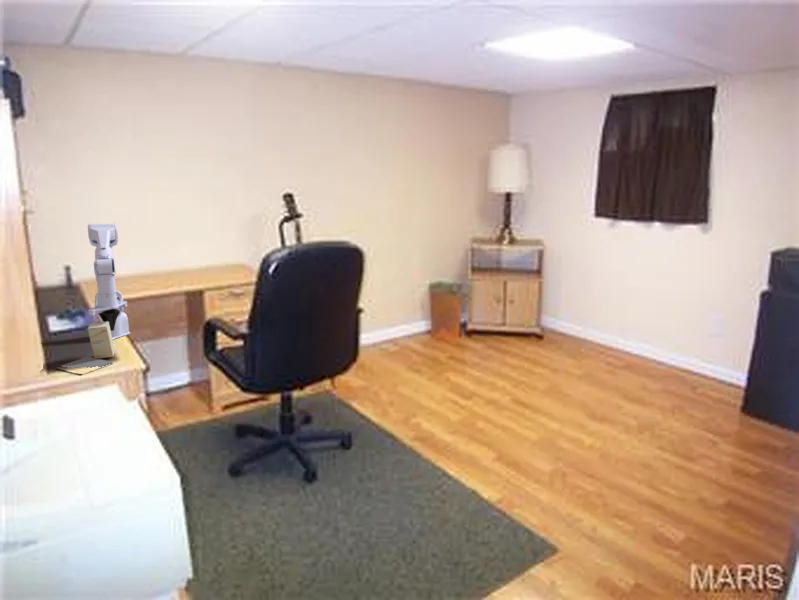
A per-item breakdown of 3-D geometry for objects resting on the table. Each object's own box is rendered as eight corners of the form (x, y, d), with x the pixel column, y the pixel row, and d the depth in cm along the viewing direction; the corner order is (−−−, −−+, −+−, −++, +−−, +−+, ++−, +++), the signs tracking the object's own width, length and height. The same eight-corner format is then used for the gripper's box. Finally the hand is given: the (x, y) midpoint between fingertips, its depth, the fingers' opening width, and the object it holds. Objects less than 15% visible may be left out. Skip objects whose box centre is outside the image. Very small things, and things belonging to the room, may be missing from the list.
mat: (87, 358, 200) (87, 356, 200) (113, 363, 195) (112, 362, 195) (56, 369, 189) (55, 367, 189) (82, 375, 185) (82, 373, 184)
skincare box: (94, 359, 199) (86, 328, 194) (97, 353, 203) (89, 322, 198) (113, 356, 200) (106, 326, 195) (116, 350, 204) (108, 320, 199)
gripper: (97, 298, 191) (101, 337, 194) (132, 290, 204) (135, 326, 207) (82, 296, 194) (86, 334, 197) (117, 288, 207) (120, 324, 210)
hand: (110, 330), depth 202 cm, fingers closed
